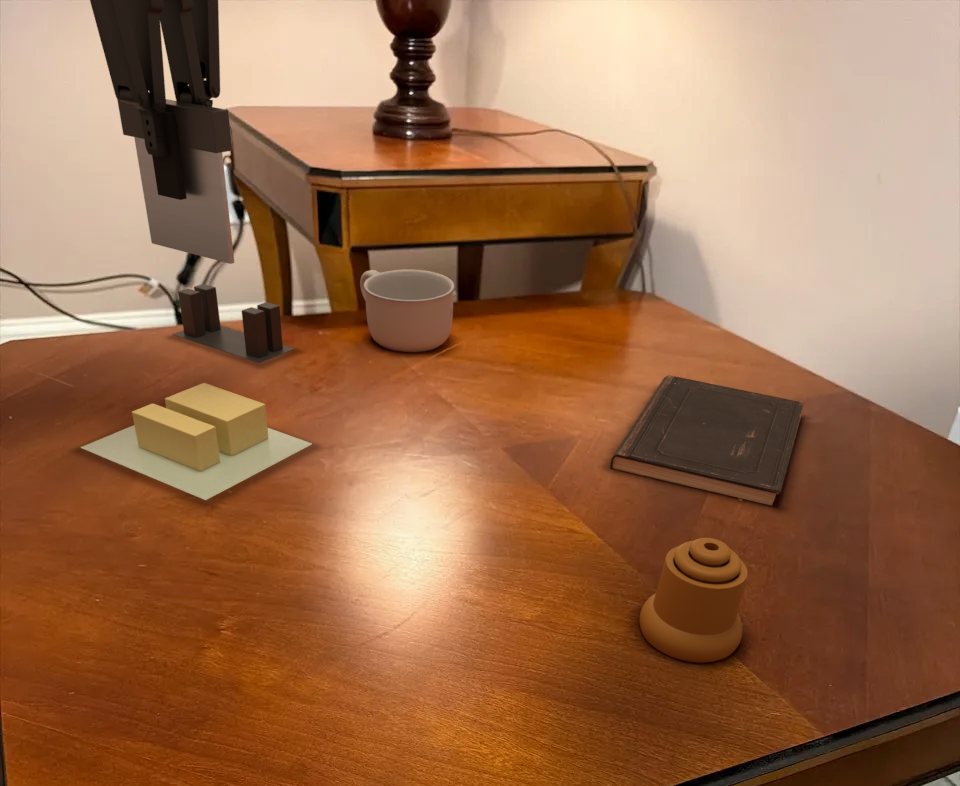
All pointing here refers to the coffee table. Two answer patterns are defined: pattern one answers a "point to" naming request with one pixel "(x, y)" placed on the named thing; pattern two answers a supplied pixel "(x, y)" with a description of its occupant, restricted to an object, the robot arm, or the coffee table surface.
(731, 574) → the ornamental finial
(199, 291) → the stand
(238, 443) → the butter block
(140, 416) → the butter pat
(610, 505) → the coffee table surface
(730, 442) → the hardcover book
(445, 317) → the teacup
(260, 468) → the butter dish
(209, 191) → the dough scraper
